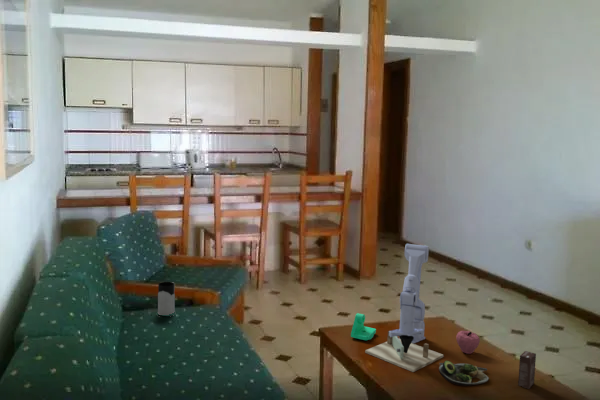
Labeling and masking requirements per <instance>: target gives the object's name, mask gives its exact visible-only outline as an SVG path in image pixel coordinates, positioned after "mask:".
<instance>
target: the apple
mask: <svg viewBox="0 0 600 400" xmlns="http://www.w3.org/2000/svg"><path fill="white" fill-rule="evenodd" d="M456 342H457V345H458V347H459V348H460V351H461V352H462V353H465V354H469V355H471V354H473V353H474V351H475V350H476V349H477V348H478V346H479V344H480V337H479V336H478V335H477V333H475V332H472V331H470V330H460V331H458V332H457V334H456Z"/></svg>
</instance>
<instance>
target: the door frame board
mask: <svg viewBox="0 0 600 400" xmlns="http://www.w3.org/2000/svg"><path fill="white" fill-rule="evenodd" d="M389 331H390V330H388V331H387V339H386V340H387V341H385V342H382V343H380V344H378V345H375V346H373V347H370V348H368V349H365V351H364V353H365V354H367V355H370V356H373V357H375V358H377V359H380V360H382V361H385V362H387V363H389V364H392V365H394V366H397V367H399V368H402V369H405V370H407V371H410V372H411V373H414V372H416V371H418V370H420V369H422V368H424V367H427V366H429V365H430V364H432V363H434V362H436V361H439V360H441V359H443V358H444V357H445V356H444V354H442V353H440V352H437V351H434V350H431V349H429V348H430V347H429V346H430V345H429V343H427V342H426V343H423V346H421V345H418V344H416V343H411V344H410V346H409V348H408V351H407V353H405V352H404V354H403V359H401V358H400V357H399V355H398V353H397V352H396V350H395V348H394V347H393V345H392V337H390V336H389ZM398 339H399V340H400V342H401V339H400V338H399V337H398ZM401 343H402V342H401Z"/></svg>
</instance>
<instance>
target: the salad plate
mask: <svg viewBox="0 0 600 400" xmlns="http://www.w3.org/2000/svg"><path fill="white" fill-rule="evenodd" d="M438 364H439V367H438V371H439V373H440V375H441V376H442V377H443V378H444V379H445V380H446V381H447V382H449V383H451V384H453V385H456V386H461V387H463V386H464V387H467V386H469V387H470V386H475V385H480V384H484V383H486V382H488V381H489V379H490V378H489V376H488V375H486V374H485V373H484V372H487V371H488V369H487V368H485V367H480V366H479V367H478V366H477V365H473V364H471V363H463V362H462V363H453V362H451V361H450V360H444V361H443V362H439V363H438ZM473 378H477V379H479V380H478V381H477V382H472V379H473Z"/></svg>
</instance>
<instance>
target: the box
mask: <svg viewBox="0 0 600 400" xmlns="http://www.w3.org/2000/svg"><path fill="white" fill-rule="evenodd" d="M536 357H537V353H535V352H531V351H527V350H524V351H523V352H522V353H521V354H520V355H519V367H518V368H519V369H518V383H517V386H518V387H521V386H522V388H525V389H531V387H533V385H534V384H535V374H536V359H537V358H536Z"/></svg>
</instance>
